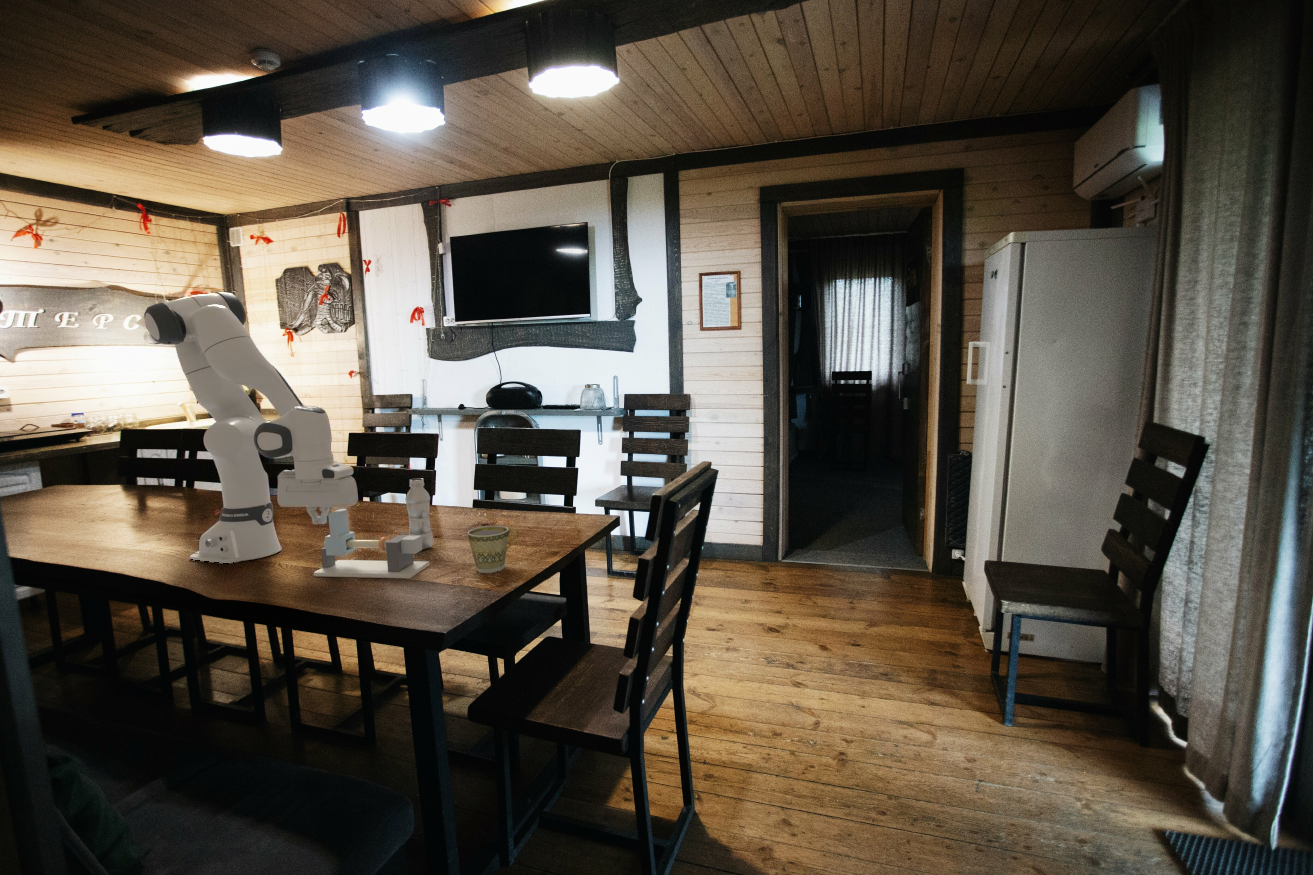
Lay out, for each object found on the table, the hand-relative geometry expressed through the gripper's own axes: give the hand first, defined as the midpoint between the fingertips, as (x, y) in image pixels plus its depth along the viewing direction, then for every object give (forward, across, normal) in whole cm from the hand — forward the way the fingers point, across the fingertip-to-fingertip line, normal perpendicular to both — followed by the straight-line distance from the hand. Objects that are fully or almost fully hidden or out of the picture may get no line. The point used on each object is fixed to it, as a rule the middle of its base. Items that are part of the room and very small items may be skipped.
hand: (319, 523), depth 163 cm
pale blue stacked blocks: (+8, +5, 0) cm, 9 cm away
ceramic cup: (+12, +45, +4) cm, 47 cm away
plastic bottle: (+12, +17, +19) cm, 28 cm away
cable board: (+12, +14, 0) cm, 18 cm away
